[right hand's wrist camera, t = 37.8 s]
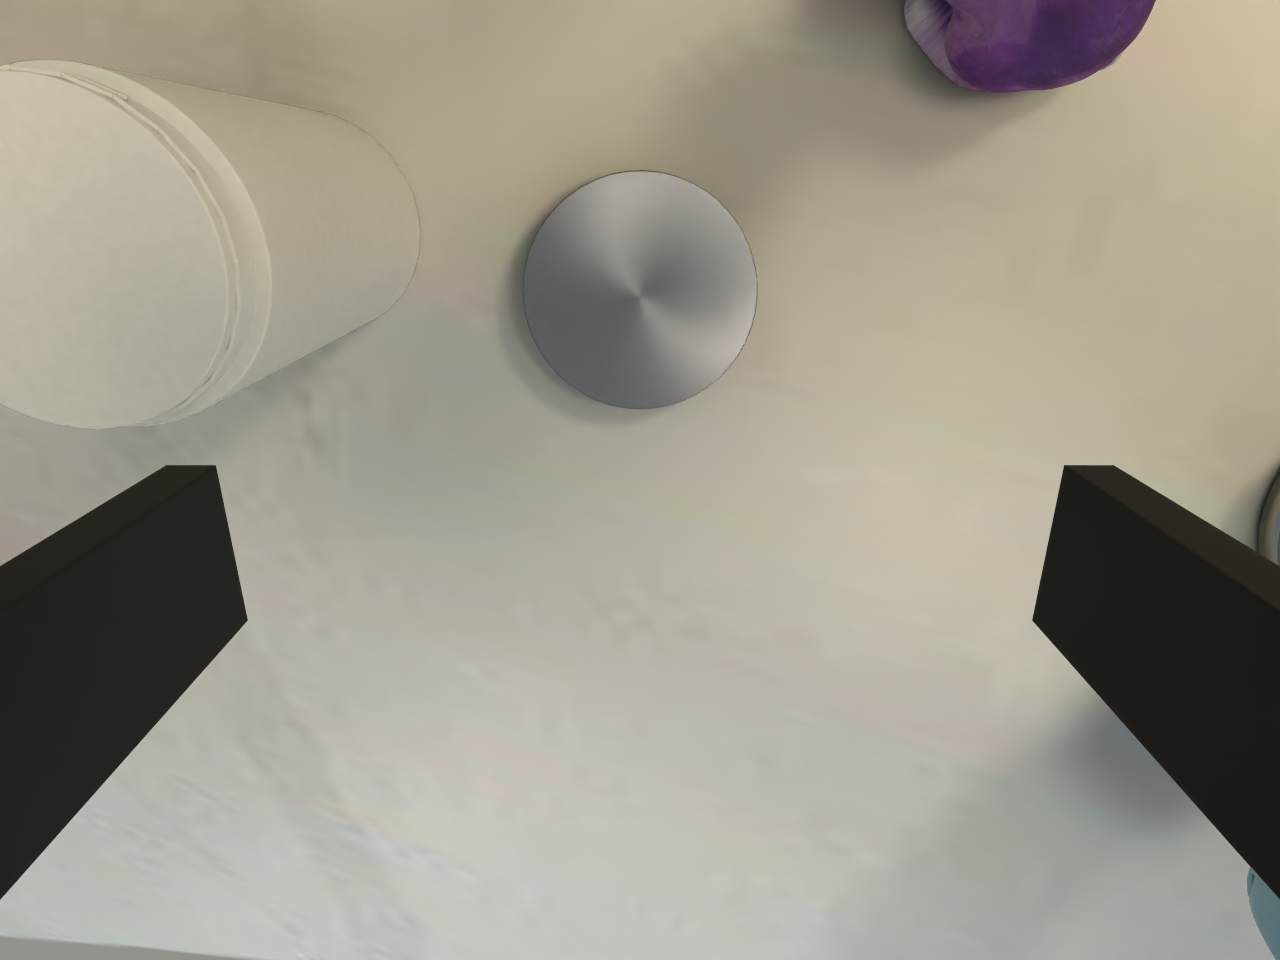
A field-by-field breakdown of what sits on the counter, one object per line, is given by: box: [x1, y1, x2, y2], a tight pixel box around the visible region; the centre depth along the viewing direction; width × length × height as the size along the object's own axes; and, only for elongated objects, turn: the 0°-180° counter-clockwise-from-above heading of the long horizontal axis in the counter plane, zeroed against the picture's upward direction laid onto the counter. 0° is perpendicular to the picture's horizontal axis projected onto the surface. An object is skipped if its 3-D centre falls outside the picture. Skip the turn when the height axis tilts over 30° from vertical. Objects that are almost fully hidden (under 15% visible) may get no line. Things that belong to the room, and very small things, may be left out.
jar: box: [0, 59, 420, 429], centre depth 30 cm, size 10×10×19 cm
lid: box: [523, 170, 757, 409], centre depth 39 cm, size 11×11×2 cm
